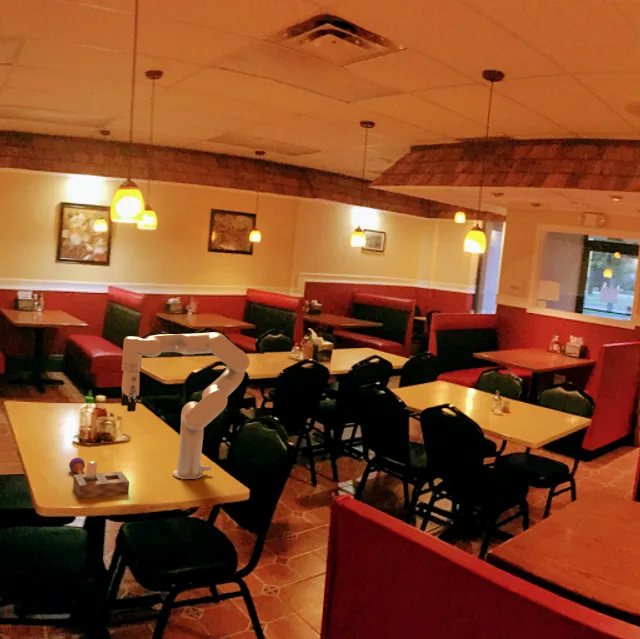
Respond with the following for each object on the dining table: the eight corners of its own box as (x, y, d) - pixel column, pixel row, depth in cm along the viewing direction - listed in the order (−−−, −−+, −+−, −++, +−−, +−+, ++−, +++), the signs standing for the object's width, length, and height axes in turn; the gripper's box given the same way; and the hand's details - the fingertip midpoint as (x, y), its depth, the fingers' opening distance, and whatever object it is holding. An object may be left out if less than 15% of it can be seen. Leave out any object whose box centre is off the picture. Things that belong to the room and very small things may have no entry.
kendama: (73, 477, 249) (67, 457, 266) (75, 491, 250) (69, 470, 268) (89, 473, 252) (82, 453, 269) (91, 487, 253) (84, 467, 270)
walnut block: (120, 483, 258) (121, 471, 257) (128, 494, 247) (129, 481, 247) (73, 487, 248) (73, 474, 248) (78, 498, 238) (79, 485, 238)
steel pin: (93, 485, 248) (95, 460, 247) (95, 489, 245) (97, 463, 244) (84, 486, 246) (86, 461, 245) (86, 490, 243) (88, 464, 242)
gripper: (146, 371, 258) (143, 413, 259) (135, 363, 272) (131, 403, 274) (127, 371, 254) (124, 413, 255) (116, 363, 269) (113, 403, 270)
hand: (128, 408), depth 264 cm, fingers open, 9 cm apart
